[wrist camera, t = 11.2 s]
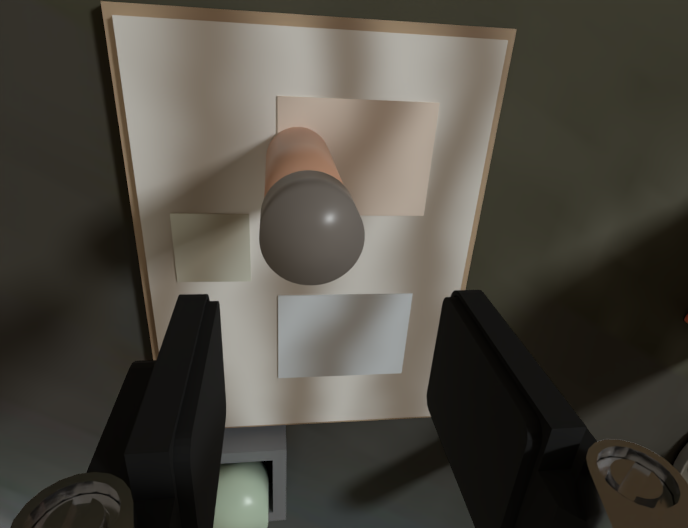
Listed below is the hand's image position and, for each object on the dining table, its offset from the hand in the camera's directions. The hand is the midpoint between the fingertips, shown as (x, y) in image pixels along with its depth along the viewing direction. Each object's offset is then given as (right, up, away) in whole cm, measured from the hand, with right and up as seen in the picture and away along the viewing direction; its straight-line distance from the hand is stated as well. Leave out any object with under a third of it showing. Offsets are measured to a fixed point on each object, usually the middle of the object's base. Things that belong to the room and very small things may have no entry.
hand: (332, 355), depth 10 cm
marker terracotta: (-2, +7, +14) cm, 16 cm away
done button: (-7, -13, +23) cm, 28 cm away
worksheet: (-2, +2, +18) cm, 18 cm away
